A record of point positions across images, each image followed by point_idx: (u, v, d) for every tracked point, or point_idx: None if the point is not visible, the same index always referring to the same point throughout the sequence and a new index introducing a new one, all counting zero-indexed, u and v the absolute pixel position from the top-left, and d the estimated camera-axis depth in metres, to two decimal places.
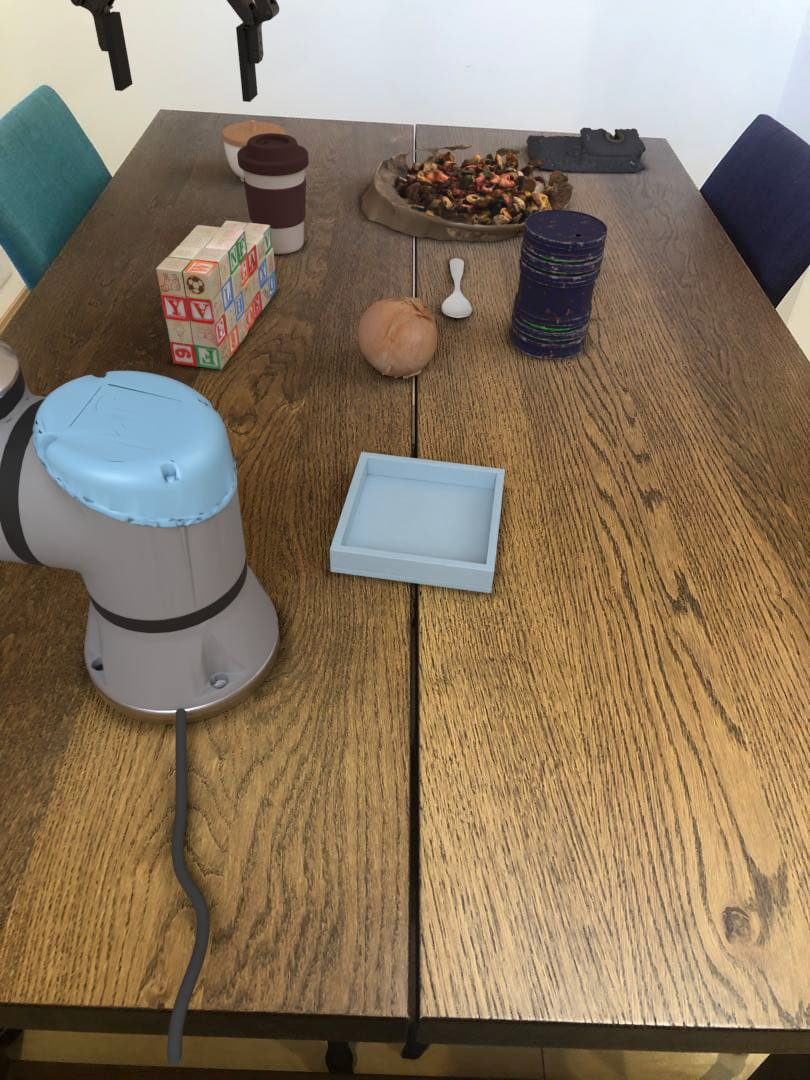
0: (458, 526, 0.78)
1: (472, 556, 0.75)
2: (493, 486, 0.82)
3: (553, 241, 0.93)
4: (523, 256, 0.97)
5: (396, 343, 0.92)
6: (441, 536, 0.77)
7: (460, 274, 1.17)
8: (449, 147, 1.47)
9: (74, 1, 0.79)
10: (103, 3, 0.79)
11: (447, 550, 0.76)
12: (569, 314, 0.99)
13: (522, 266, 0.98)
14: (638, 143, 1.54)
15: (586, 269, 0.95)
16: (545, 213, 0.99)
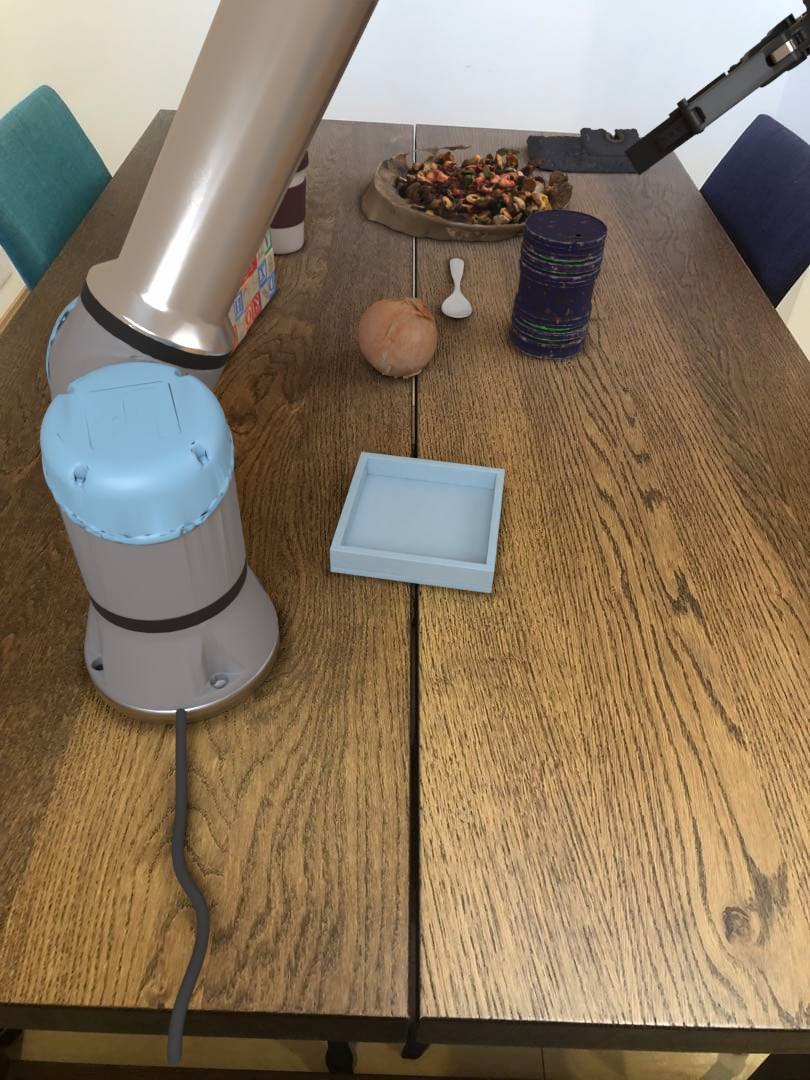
0: (458, 526, 0.78)
1: (472, 556, 0.75)
2: (493, 486, 0.82)
3: (553, 241, 0.93)
4: (522, 256, 0.97)
5: (396, 343, 0.92)
6: (441, 536, 0.77)
7: (460, 274, 1.17)
8: (449, 147, 1.47)
9: None
10: (734, 66, 0.83)
11: (447, 550, 0.76)
12: (569, 314, 0.99)
13: (522, 266, 0.98)
14: None
15: (585, 269, 0.95)
16: (545, 213, 0.99)
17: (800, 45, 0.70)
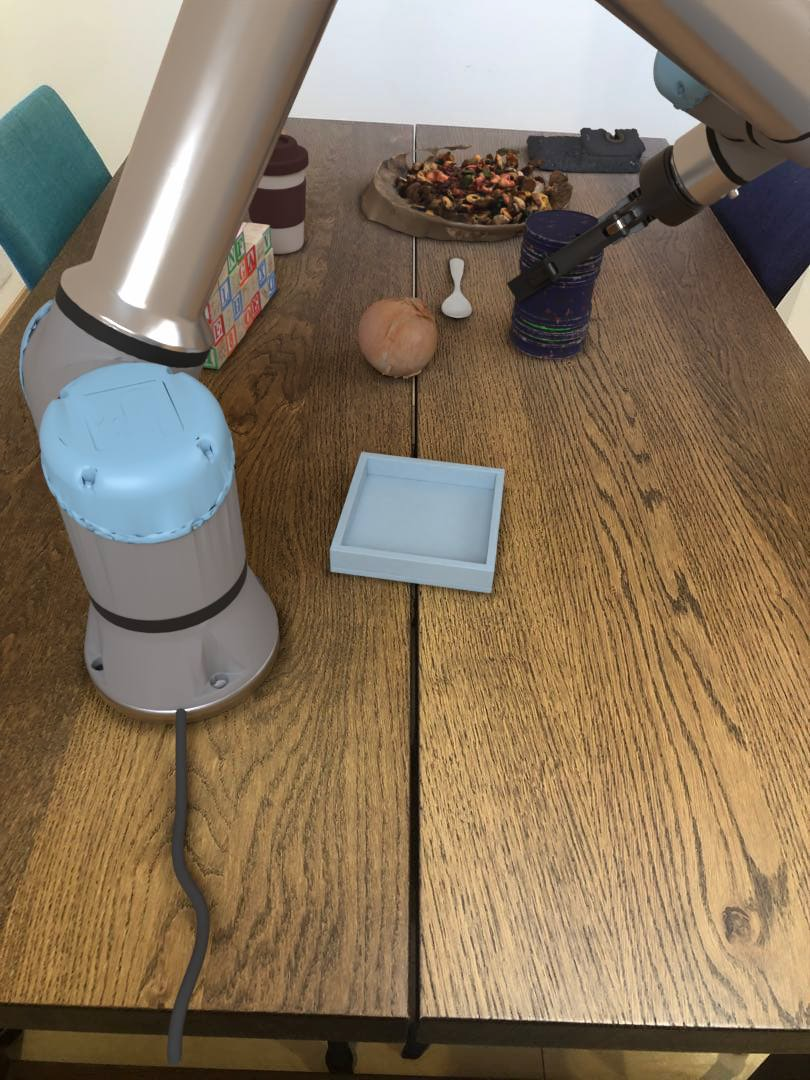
0: (458, 526, 0.78)
1: (472, 556, 0.75)
2: (493, 486, 0.82)
3: (553, 241, 0.93)
4: (522, 256, 0.97)
5: (396, 343, 0.92)
6: (441, 536, 0.77)
7: (460, 274, 1.17)
8: (449, 147, 1.47)
9: None
10: None
11: (447, 550, 0.76)
12: (569, 314, 0.99)
13: (522, 266, 0.98)
14: (638, 143, 1.54)
15: (586, 269, 0.95)
16: (545, 213, 0.99)
17: (637, 218, 0.86)
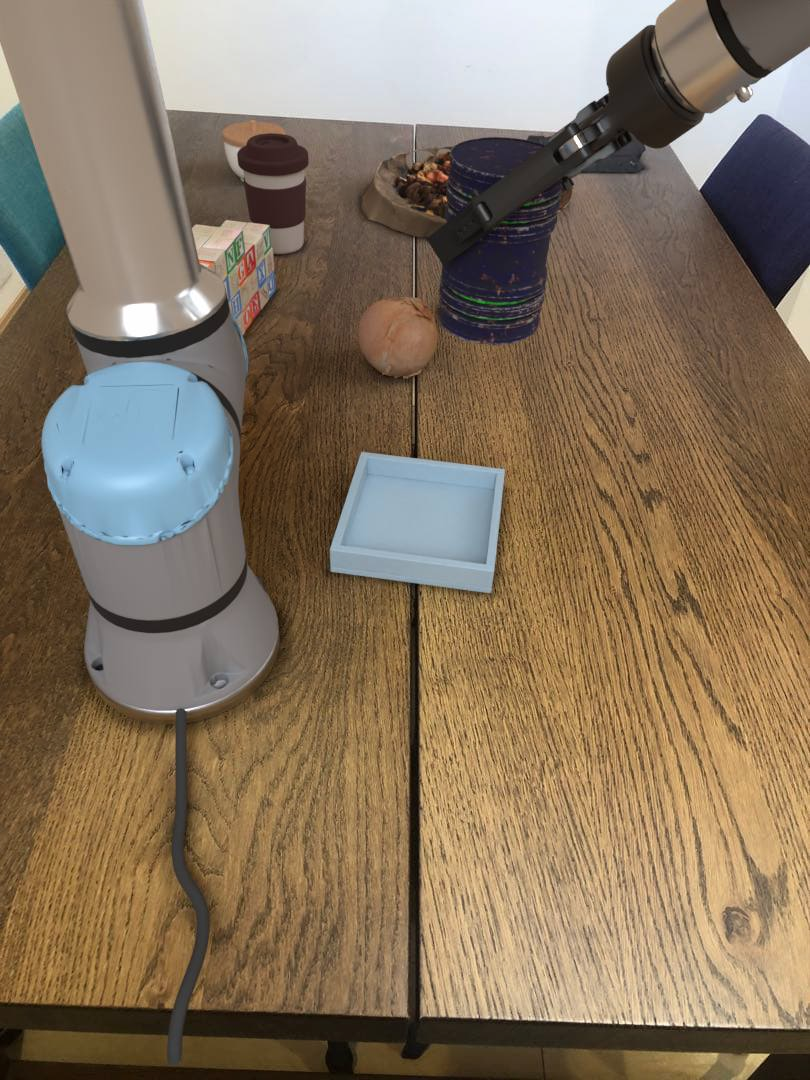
0: (458, 526, 0.78)
1: (472, 556, 0.75)
2: (493, 486, 0.82)
3: (487, 175, 0.65)
4: (448, 200, 0.70)
5: (396, 343, 0.92)
6: (441, 536, 0.77)
7: None
8: (449, 147, 1.47)
9: None
10: None
11: (447, 550, 0.76)
12: (514, 281, 0.71)
13: (448, 214, 0.70)
14: (638, 143, 1.54)
15: (535, 217, 0.67)
16: (480, 141, 0.71)
17: (603, 135, 0.59)
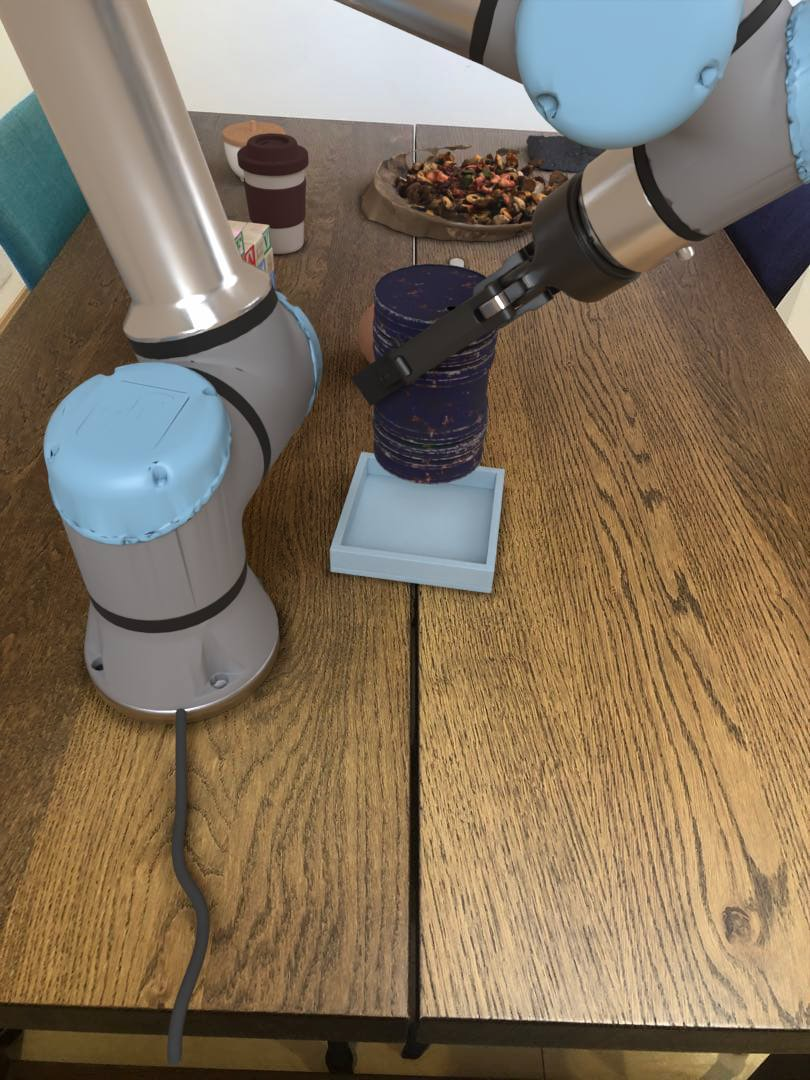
0: (458, 526, 0.78)
1: (472, 556, 0.75)
2: (493, 486, 0.82)
3: (410, 319, 0.59)
4: (374, 337, 0.63)
5: None
6: (441, 536, 0.77)
7: None
8: (449, 147, 1.47)
9: None
10: None
11: (447, 550, 0.76)
12: (448, 422, 0.65)
13: (375, 351, 0.64)
14: None
15: (466, 360, 0.61)
16: (411, 269, 0.65)
17: (530, 291, 0.53)
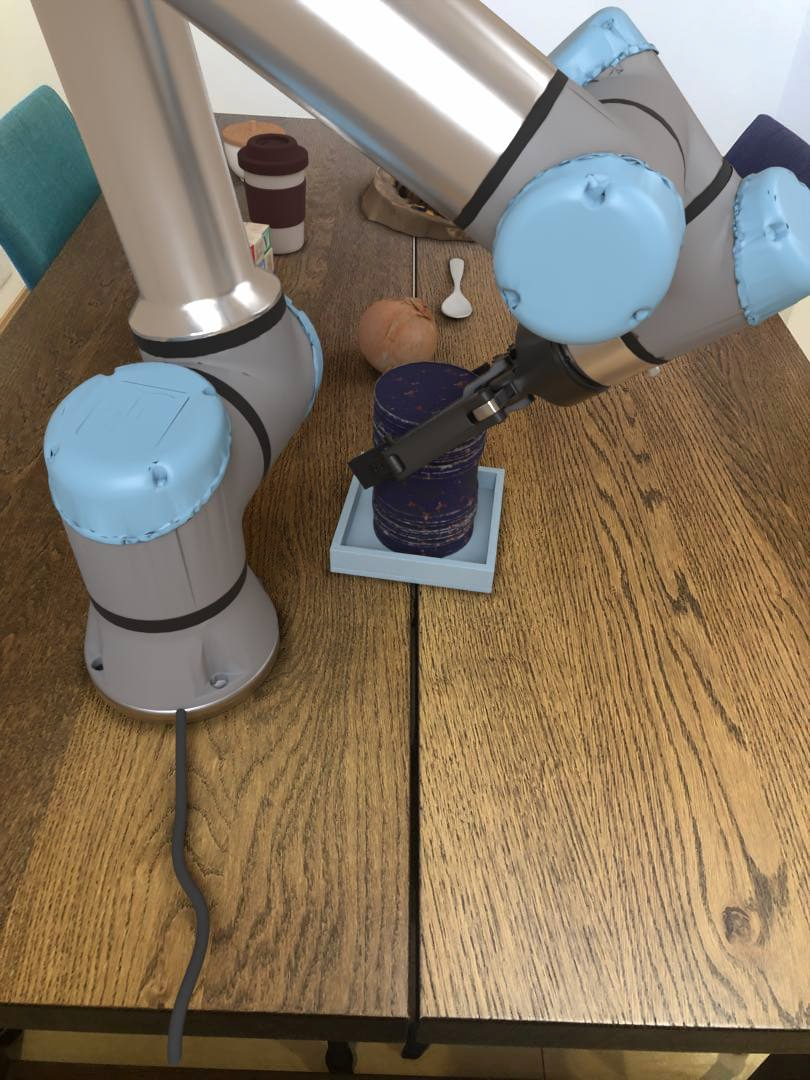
0: None
1: (472, 556, 0.75)
2: (493, 486, 0.82)
3: (406, 422, 0.65)
4: (373, 431, 0.69)
5: (396, 343, 0.92)
6: None
7: (460, 274, 1.17)
8: None
9: (510, 345, 0.73)
10: (494, 360, 0.71)
11: None
12: (441, 507, 0.71)
13: (374, 443, 0.70)
14: None
15: (458, 456, 0.67)
16: (407, 367, 0.71)
17: (513, 397, 0.58)
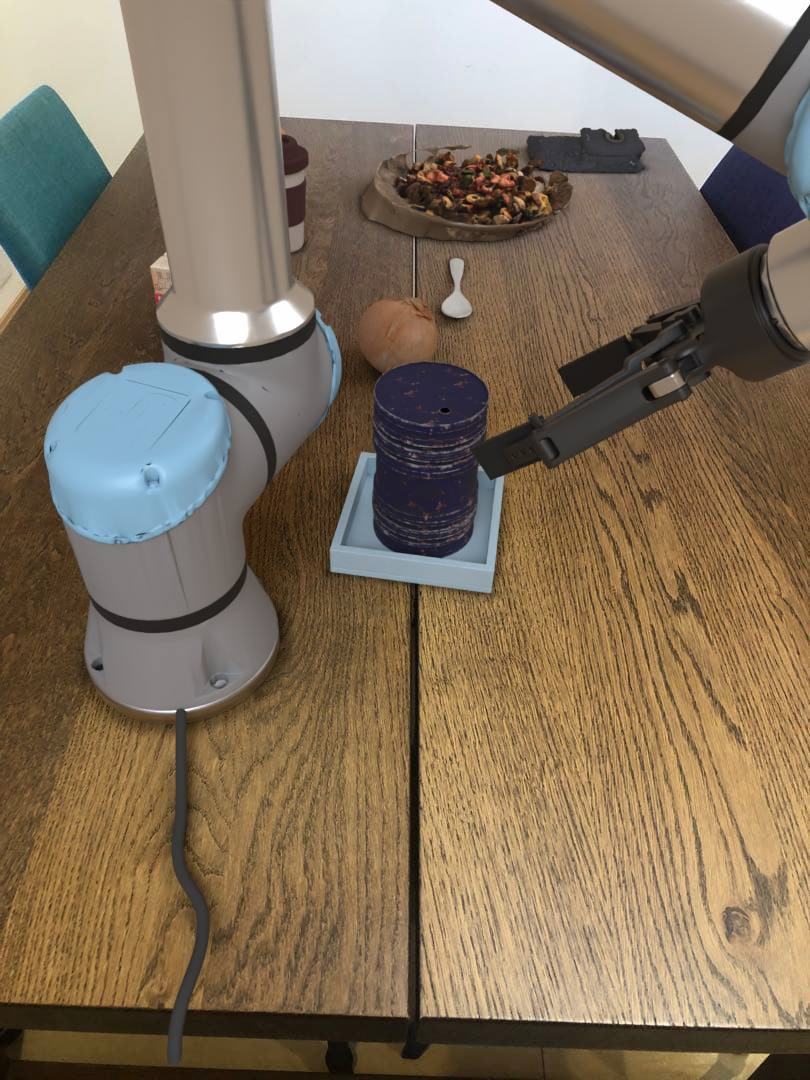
0: None
1: (472, 556, 0.75)
2: (493, 486, 0.82)
3: (406, 422, 0.65)
4: (373, 431, 0.69)
5: (396, 343, 0.92)
6: None
7: (460, 274, 1.17)
8: (449, 147, 1.47)
9: (650, 316, 0.63)
10: (636, 332, 0.62)
11: None
12: (441, 507, 0.71)
13: (374, 443, 0.70)
14: (638, 143, 1.54)
15: (458, 456, 0.67)
16: (407, 367, 0.71)
17: (695, 370, 0.49)
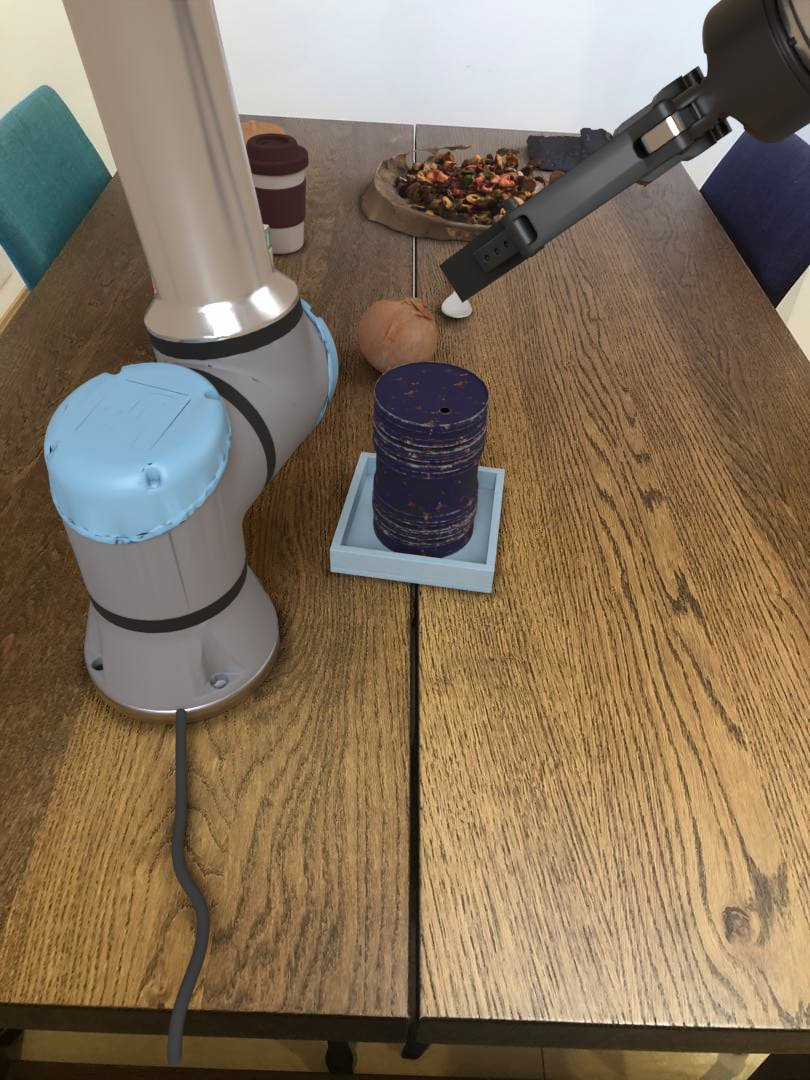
0: None
1: (472, 556, 0.75)
2: (493, 486, 0.82)
3: (406, 422, 0.65)
4: (373, 431, 0.69)
5: (396, 343, 0.92)
6: None
7: None
8: (449, 147, 1.47)
9: None
10: None
11: None
12: (441, 507, 0.71)
13: (374, 443, 0.70)
14: None
15: (458, 456, 0.67)
16: (407, 367, 0.71)
17: (697, 124, 0.41)
